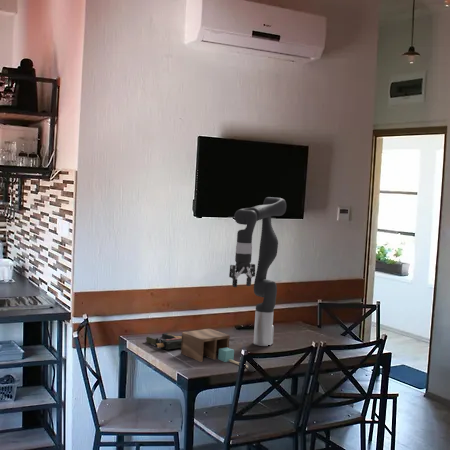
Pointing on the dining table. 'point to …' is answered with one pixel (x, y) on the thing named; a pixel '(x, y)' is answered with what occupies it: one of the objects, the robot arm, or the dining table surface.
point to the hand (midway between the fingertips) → (241, 286)
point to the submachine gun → (166, 341)
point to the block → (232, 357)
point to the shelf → (203, 343)
